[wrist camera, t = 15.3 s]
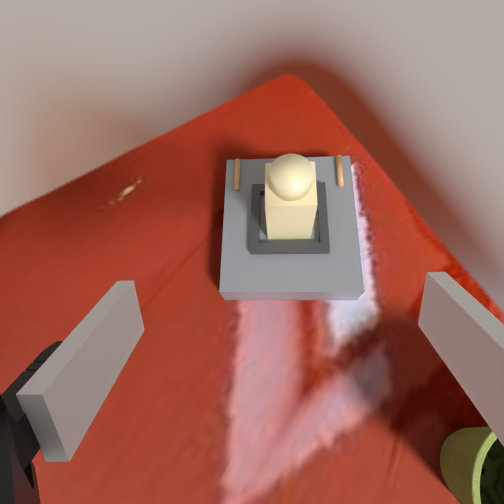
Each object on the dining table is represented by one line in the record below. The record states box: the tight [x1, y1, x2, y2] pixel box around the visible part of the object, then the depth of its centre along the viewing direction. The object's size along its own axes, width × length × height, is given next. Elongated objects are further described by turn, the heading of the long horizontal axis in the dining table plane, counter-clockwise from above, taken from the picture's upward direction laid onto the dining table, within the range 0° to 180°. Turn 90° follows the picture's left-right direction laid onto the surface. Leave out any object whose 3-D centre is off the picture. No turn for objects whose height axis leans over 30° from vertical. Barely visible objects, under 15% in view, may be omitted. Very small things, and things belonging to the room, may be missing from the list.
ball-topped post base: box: [219, 155, 364, 300], centre depth 41 cm, size 16×18×5 cm
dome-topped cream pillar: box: [265, 154, 318, 240], centre depth 35 cm, size 5×5×10 cm
